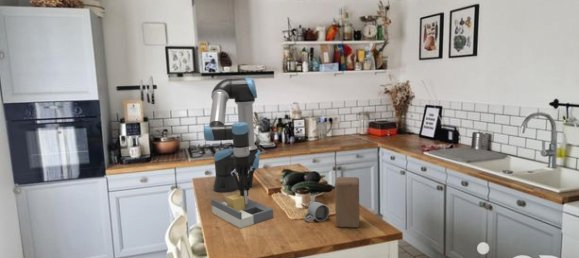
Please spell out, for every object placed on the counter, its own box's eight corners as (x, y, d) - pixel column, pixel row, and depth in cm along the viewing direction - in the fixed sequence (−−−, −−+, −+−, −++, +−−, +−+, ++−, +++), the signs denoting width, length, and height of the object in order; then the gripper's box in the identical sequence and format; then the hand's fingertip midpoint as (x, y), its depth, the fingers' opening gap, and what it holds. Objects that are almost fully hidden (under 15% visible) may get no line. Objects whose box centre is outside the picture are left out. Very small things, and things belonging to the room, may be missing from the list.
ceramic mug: (320, 214, 182) (319, 198, 181) (329, 219, 175) (329, 203, 173) (300, 219, 177) (300, 203, 176) (309, 224, 170) (308, 208, 169)
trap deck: (243, 204, 200) (242, 191, 199) (273, 217, 180) (272, 203, 179) (212, 213, 189) (211, 199, 188) (240, 228, 169) (239, 213, 168)
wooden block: (359, 228, 164) (358, 183, 161) (335, 227, 166) (334, 182, 163) (359, 219, 173) (359, 176, 170) (337, 218, 175) (336, 176, 172)
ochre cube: (238, 206, 186) (237, 194, 185) (244, 209, 181) (244, 196, 180) (227, 209, 182) (226, 197, 181) (233, 212, 177) (233, 199, 176)
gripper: (234, 158, 174) (237, 208, 178) (257, 154, 182) (260, 201, 186) (225, 156, 180) (229, 204, 183) (249, 152, 188) (251, 198, 191)
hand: (244, 203), depth 184 cm, fingers closed
